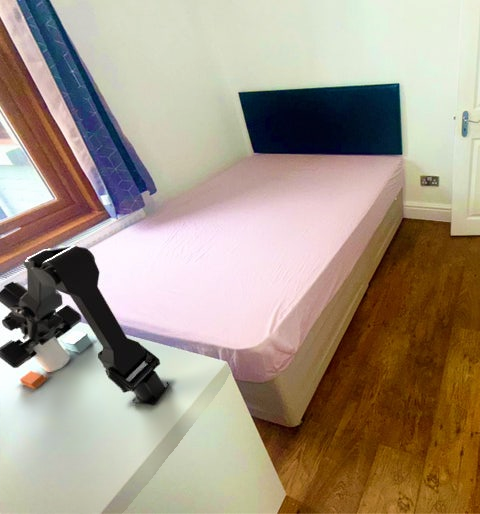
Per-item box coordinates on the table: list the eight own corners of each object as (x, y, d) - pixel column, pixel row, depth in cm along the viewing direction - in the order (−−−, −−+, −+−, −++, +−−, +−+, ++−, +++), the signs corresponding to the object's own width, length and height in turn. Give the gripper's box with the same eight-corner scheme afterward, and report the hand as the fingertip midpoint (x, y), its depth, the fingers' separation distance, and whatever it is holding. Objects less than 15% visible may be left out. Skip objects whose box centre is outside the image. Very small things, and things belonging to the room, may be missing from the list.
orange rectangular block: (47, 379, 99) (43, 374, 98) (35, 389, 96) (31, 384, 95) (35, 375, 101) (31, 370, 100) (23, 384, 99) (18, 379, 98)
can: (57, 373, 100) (32, 341, 94) (40, 372, 102) (14, 341, 96) (75, 355, 105) (52, 325, 99) (58, 355, 107) (35, 325, 101)
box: (93, 342, 109) (87, 333, 107) (79, 353, 106) (73, 344, 104) (80, 339, 112) (74, 330, 110) (67, 349, 109) (60, 341, 107)
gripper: (51, 280, 97) (51, 307, 108) (-26, 326, 83) (-18, 353, 93) (84, 306, 98) (81, 330, 108) (13, 356, 84) (17, 379, 94)
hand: (42, 346), depth 101 cm, fingers closed on can, 6 cm apart
